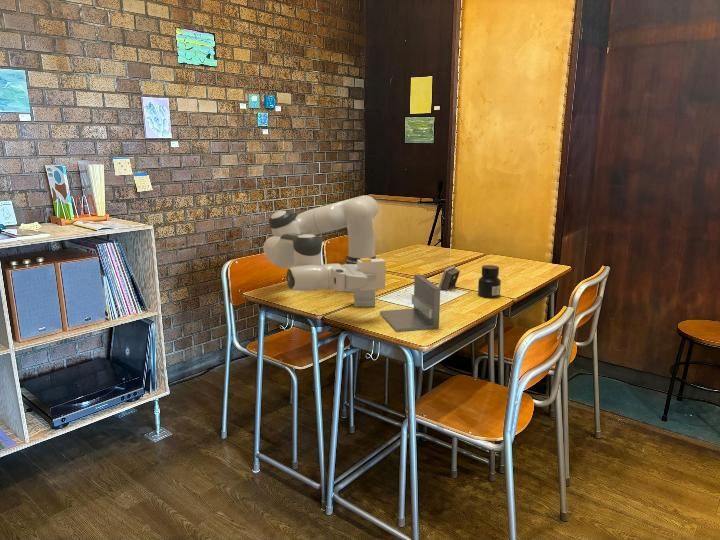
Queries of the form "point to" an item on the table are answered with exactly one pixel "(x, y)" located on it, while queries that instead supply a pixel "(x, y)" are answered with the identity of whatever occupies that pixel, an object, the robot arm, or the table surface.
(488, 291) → the ink bottle
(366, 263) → the module
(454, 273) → the electrical switch
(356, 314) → the table surface
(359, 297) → the skincare box
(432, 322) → the grey l-shaped stand
